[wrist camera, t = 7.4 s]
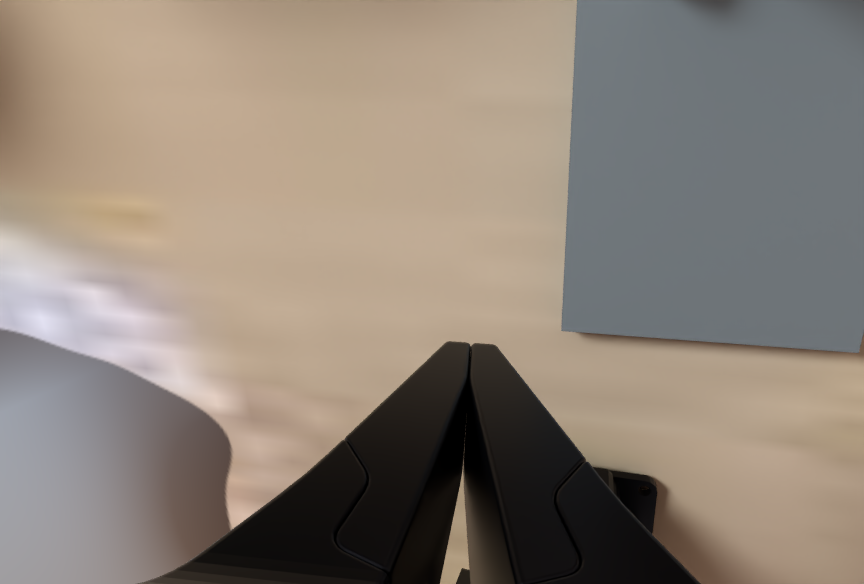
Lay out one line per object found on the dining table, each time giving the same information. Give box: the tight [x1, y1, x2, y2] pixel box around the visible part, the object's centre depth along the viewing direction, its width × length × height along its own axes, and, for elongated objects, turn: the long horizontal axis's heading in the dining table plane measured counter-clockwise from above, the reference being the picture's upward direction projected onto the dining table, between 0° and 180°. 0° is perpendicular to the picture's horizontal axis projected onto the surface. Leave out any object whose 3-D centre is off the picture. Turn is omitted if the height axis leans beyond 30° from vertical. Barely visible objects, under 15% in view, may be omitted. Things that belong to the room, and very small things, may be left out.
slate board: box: [561, 0, 864, 353], centre depth 17 cm, size 17×10×3 cm, turn 2°
